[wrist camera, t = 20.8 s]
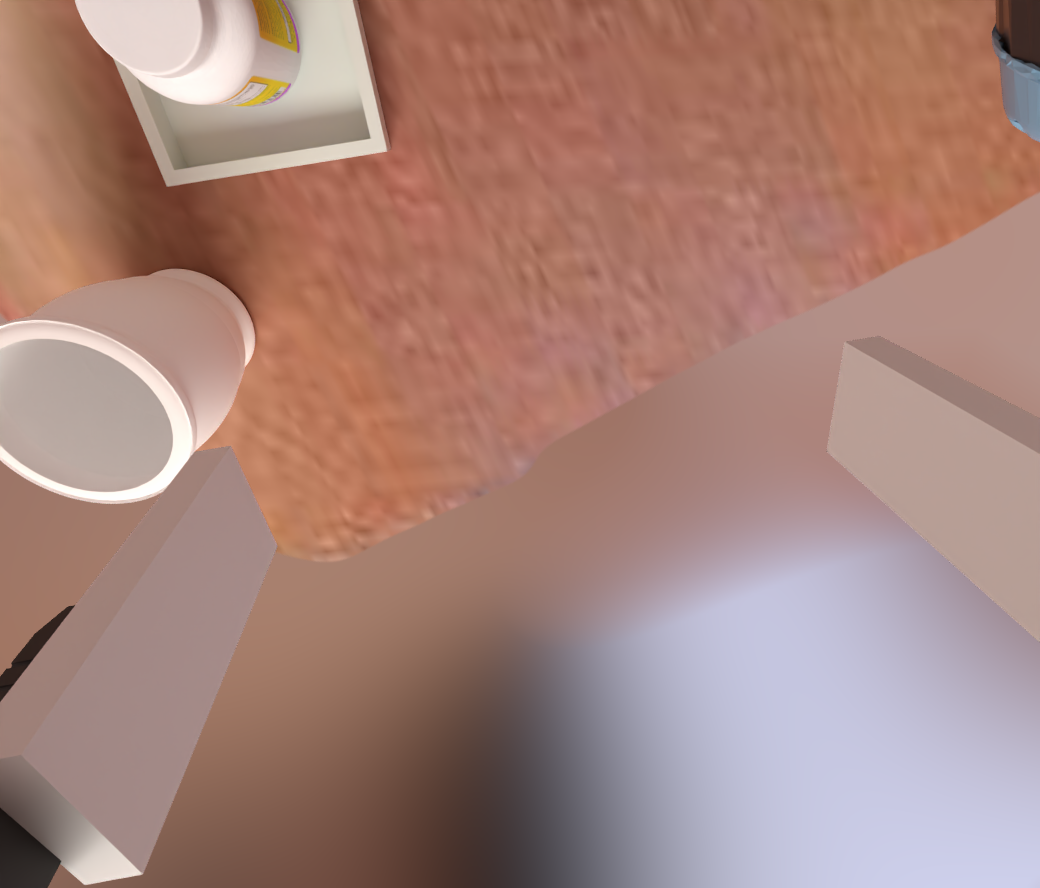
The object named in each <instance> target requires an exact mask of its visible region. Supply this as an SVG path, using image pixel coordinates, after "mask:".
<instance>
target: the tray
mask: <svg viewBox="0 0 1040 888" xmlns="http://www.w3.org/2000/svg"><path fill="white" fill-rule="evenodd" d="M284 1H285V2H286V4H287V6H288V7H289V9H290V11H291V13H292V15H293V17H294V19H295V21H296V24H297V27H298V31H299V35H300V39H301V50H302V57H301V66H300V70H299V73H298V76H297V79H296V81H295V83H294V84H293V86H292V87H291V89H290V90H289V91H288V92H287V93H286V94H285V95H284V96H283V97H282V98H280V99H279V100H277V101H275V102H273V103H270V104H267V105H262V106H254V107H247V106H222V105H195V104H187V103H182V102H179V101H176V100H173V99H170V98H168V97H165V96H163V95H161V94H159V93H158V92H156V91H154V90H152V89H151V88H149V87H148V86H146V85H145V84H144V83H142V82H141V81H140V80H139V79H138V78H136V77H135V76H134V75H133V74H132V73H131V72H130V71H129V70H128V69H127V68H126V67H125V66H124V65H123V64H121V63H120V62H118V61H117V60H115V59H114V58H113V59H114V61H115V64H116V66H117V68H118V71H119V73H120V76H121V78H122V80H123V83H124V85H125V88H126V90H127V92H128V95H129V97H130V100H131V102H132V104H133V107H134V109H135V111H136V114H137V116H138V119H139V121H140V123H141V126H142V128H143V131H144V133H145V135H146V138H147V140H148V143H149V145H150V147H151V150H152V152H153V154H154V157H155V159H156V162H157V164H158V166H159V169H160V171H161V174H162V176H163V178H164V181H165V183H166V186H167V187H169V186H175V185H181V184H187V183H193V182H200V181H206V180H212V179H218V178H225V177H231V176H237V175H243V174H249V173H256V172H262V171H268V170H274V169H281V168H287V167H293V166H299V165H306V164H312V163H318V162H324V161H330V160H337V159H343V158H349V157H355V156H362V155H368V154H374V153H380V152H386V151H389V150H391V147H390V142H389V138H388V133H387V129H386V124H385V120H384V116H383V111H382V107H381V102H380V98H379V93H378V89H377V85H376V80H375V76H374V71H373V67H372V62H371V58H370V54H369V49H368V45H367V40H366V36H365V31H364V27H363V23H362V18H361V14H360V9H359V5H358V0H284Z"/></svg>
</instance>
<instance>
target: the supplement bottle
mask: <svg viewBox="0 0 1040 888" xmlns="http://www.w3.org/2000/svg"><path fill="white" fill-rule="evenodd" d="M75 3H76V6H77V9H78V11H79V14H80V16H81V18H82V20H83V22H84V24H85V26H86V27H87V29H88V31H89V32H90V34H91V35H92V36H93V38H94V39H95V40H96V41H97V43H98V44H99V45H100V46H101V47H102V48H103V49H104V50H105V51H106V52H107V53H108V54H109V55H110V56H112V57H113V58H114V59H115V60H117V61H118V62H120V63H121V64H123V65H124V66H125V67H126V68H127V69H128V70H129V71H130V72H131V73H132V74H133V75H134V76H135V77H136V78H138V79H139V80H140V81H141V82H142V83H144V84H145V85H146V86H148V87H149V88H151V89H152V90H154V91H156V92H158V93H159V94H161V95H163V96H165V97H168V98H170V99H173V100H176V101H179V102H182V103H187V104H195V105H222V106H247V107H254V106H262V105H267V104H270V103H273V102H275V101H277V100H279V99H280V98H282V97H283V96H284V95H285V94H286V93H287V92H288V91H289V90H290V89H291V87H292V86H293V84H294V83H295V81H296V79H297V76H298V73H299V70H300V66H301V57H302V50H301V39H300V35H299V31H298V27H297V24H296V21H295V19H294V17H293V15H292V13H291V11H290V9H289V7H288V6H287V4H286V2H285V1H284V0H75Z"/></svg>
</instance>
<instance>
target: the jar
mask: <svg viewBox="0 0 1040 888" xmlns="http://www.w3.org/2000/svg"><path fill="white" fill-rule="evenodd" d="M254 347H255V331H254V327H253V323H252V320H251V318H250V316H249V313H248V312H247V310H246V308H245V307H244V305H243V304H242V302H241V301H240V300H239V299H238V298H237V297H236V295H235V294H234V293H233V292H231V291H230V290H229V289H228V288H227V287H225V286H224V285H223V284H221V283H220V282H218V281H217V280H215V279H213V278H211V277H209V276H207V275H204V274H202V273H199V272H195V271H191V270H186V269H166V270H161V271H157V272H154V273H152V274H150V275H148V276H137V277H130V278H125V279H118V280H110V281H104V282H99V283H95V284H91V285H88V286H84V287H81V288H78V289H76V290H73V291H70V292H68V293H66V294H64V295H62V296H60V297H58V298H56V299H54V300H52V301H51V302H49V303H47V304H46V305H44V306H43V307H41V308H40V309H38V310H37V311H36V312H34V313H33V314H32V315H30V316H29V317H23V318H19V319H15V320H11V321H8V322H5V323H3V324H1V325H0V460H1V461H2V462H3V463H4V464H5V465H7V466H8V467H9V468H11V469H12V470H13V471H15V472H16V473H18V474H19V475H21V476H23V477H24V478H26V479H27V480H29V481H31V482H33V483H35V484H37V485H39V486H41V487H43V488H45V489H47V490H50V491H52V492H55V493H57V494H60V495H63V496H66V497H70V498H73V499H78V500H82V501H88V502H94V503H105V504H106V503H107V504H121V503H130V502H136V501H140V500H144V499H147V498H150V497H153V496H156V495H158V494H160V493H162V492H163V491H164V490H165V489H166V488H167V486H168V485H169V484H170V483H171V481H172V480H173V479H174V477H175V476H176V475H177V474H178V472H179V471H180V470H181V468H182V467H183V466H184V465H185V463H186V462H187V461H188V459H189V458H190V457H191V455H192V454H193V453H194V451H195V450H197V449H198V448H199V447H200V446H201V445H202V444H203V443H205V442H206V441H207V440H208V439H209V438H210V437H211V435H212V434H213V433H214V432H215V431H216V430H217V428H218V427H219V426H220V425H221V423H222V422H223V420H224V419H225V417H226V415H227V414H228V412H229V410H230V408H231V406H232V404H233V401H234V399H235V396H236V393H237V390H238V387H239V384H240V382H241V379H242V376H243V373H244V368H245V366H246V365H247V364H248V362H249V361H250V359H251V357H252V355H253V352H254Z"/></svg>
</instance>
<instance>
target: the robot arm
mask: <svg viewBox="0 0 1040 888" xmlns="http://www.w3.org/2000/svg"><path fill="white" fill-rule="evenodd" d="M992 45H993V48H994V51H995V54H996V55H997V56H998V57H999V61H1000V73H1001V86H1002V98H1003V106H1004V110H1005V113H1006V115H1007V117H1008V119H1009V120H1010V122H1011V123H1012V125H1014V126H1015V127H1016V128H1018V129H1019V130H1021V131H1022V132H1024V133H1027V134H1028V136H1029V137H1030V138H1032V139H1034V140H1036V141H1038V142H1040V0H996V24H995V27H994V29H993V31H992ZM827 452H828V453H829V454H830V455H831V456H832V457H834V458H835V459H836V460H837V461H838V462H839V463H840V464H841V465H842V466H844V467H845V468H846V469H847V470H848V471H849V472H850V473H852V475H854V476H855V477H856V478H857V479H858V480H859V481H860V482H861V483H863V484H864V485H865V486H866V487H867V488H868V489H869V490H870V491H871V492H873V493H874V494H875V495H876V496H877V497H878V498H879V499H881V501H883V502H884V503H885V504H886V505H887V506H888V507H889V508H890V509H892V510H893V511H894V512H895V513H896V514H897V515H898V516H899V517H900V518H902V519H903V520H904V521H905V522H906V523H907V524H908V525H909V526H911V527H912V528H913V529H914V530H915V531H916V532H917V533H918V534H919V535H921V536H922V537H923V538H924V539H925V540H927V542H928V543H929V544H931V545H932V546H933V547H934V548H935V549H936V550H937V551H938V552H939V553H941V554H942V555H943V556H944V557H945V558H946V559H947V560H948V561H950V562H951V563H952V564H953V565H954V566H955V567H956V568H957V569H959V570H960V571H961V572H962V573H963V574H964V575H965V576H966V577H968V578H969V579H970V580H971V581H972V582H973V583H974V584H975V585H976V586H977V587H979V588H980V589H981V590H982V591H983V592H984V593H985V594H986V595H987V596H989V597H990V598H991V599H992V600H993V601H994V602H995V603H996V604H998V605H999V606H1000V607H1001V608H1002V609H1003V610H1004V611H1005V612H1006V613H1008V614H1009V615H1010V616H1011V617H1012V618H1013V619H1014V620H1015V621H1017V622H1018V623H1019V624H1020V625H1021V626H1022V627H1023V628H1024V629H1025V630H1027V631H1028V632H1029V633H1030V634H1031V635H1032V636H1033V637H1034V638H1035V639H1037V640H1038V641H1039V642H1040V418H1038V417H1036V416H1034V415H1032V414H1031V413H1029V412H1027V411H1025V410H1023V409H1021V408H1019V407H1017V406H1015V405H1013V404H1011V403H1009V402H1007V401H1005V400H1003V399H1001V398H999V397H998V396H995V395H994V394H991V393H989V392H988V391H986V390H984V389H982V388H980V387H978V386H976V385H974V384H972V383H970V382H968V381H966V380H964V379H962V378H960V377H959V376H957V375H955V374H953V373H951V372H949V371H947V370H945V369H943V368H941V367H939V366H937V365H935V364H933V363H931V362H929V361H927V360H926V359H923V358H922V357H920V356H918V355H916V354H914V353H912V352H910V351H908V350H906V349H904V348H902V347H900V346H898V345H896V344H894V343H892V342H890V341H889V340H887V339H885V338H883V337H881V336H877V337H871V338H865V339H859V340H853V341H847V342H845V343H844V349H843V355H842V361H841V367H840V373H839V379H838V385H837V392H836V397H835V404H834V409H833V416H832V422H831V428H830V434H829V440H828V446H827ZM276 549H277V544H276V542H275V540H274V537H273V535H272V533H271V531H270V529H269V527H268V525H267V522H266V520H265V518H264V516H263V514H262V512H261V510H260V507H259V505H258V503H257V501H256V499H255V497H254V495H253V492H252V490H251V488H250V486H249V484H248V482H247V479H246V477H245V475H244V473H243V471H242V469H241V467H240V464H239V462H238V460H237V458H236V456H235V454H234V452H233V449H232V447H231V446H227V447H221V448H215V449H209V450H203V451H197V452H194V453H193V454H192V455H191V457H190V458H189V459H188V461H187V462H186V463H185V465H184V466H183V467H182V468H181V470H180V471H179V472H178V474H177V475H176V476H175V477H174V479H173V480H172V481H171V483H170V484H169V485H168V486H167V488H166V489H165V490H164V492H163V493H162V494H161V495H160V497H159V498H158V500H157V501H156V502H155V503H154V505H153V506H152V507H151V508H150V510H149V511H148V512H147V514H146V515H145V516H144V517H143V519H142V520H141V521H140V523H139V524H138V525H137V526H136V528H135V529H134V530H133V532H132V533H131V534H130V535H129V537H128V538H127V540H126V541H125V542H124V543H123V545H122V546H121V547H120V548H119V550H118V551H117V552H116V554H115V555H114V556H113V558H112V559H111V560H110V561H109V563H108V564H107V565H106V566H105V568H104V569H103V570H102V572H101V573H100V574H99V575H98V577H97V578H96V579H95V581H94V582H93V583H92V584H91V586H90V587H89V588H88V590H87V591H86V592H85V594H84V595H83V596H82V597H81V599H80V600H79V601H78V603H77V604H76V605H74V606H69V607H67V608H66V609H65V610H63V611H62V612H61V613H59V614H58V615H57V616H56V617H55V618H53V619H52V620H51V621H50V622H49V623H47V624H46V625H45V626H44V627H43V628H41V629H40V630H39V631H38V632H37V633H35V634H34V636H33V637H32V638H31V639H30V641H29V642H28V643H27V644H26V646H25V647H24V648H23V649H22V651H21V652H20V653H19V654H18V655H17V657H16V658H15V659H14V660H13V662H12V667H11V668H9V669H6V670H5V671H4V673H3V674H2V675H1V676H0V888H47V887H48V886H49V884H50V882H51V880H52V878H53V876H54V874H55V872H56V870H57V869H58V867H59V865H60V864H61V865H63V866H64V867H65V868H66V869H67V870H68V871H69V872H71V873H72V874H73V875H74V876H75V877H76V878H77V879H79V880H80V881H81V882H82V883H83V884H84V885H87V884H92V883H98V882H103V881H109V880H114V879H120V878H125V877H130V876H136V875H141V874H143V873H144V870H145V868H146V865H147V863H148V860H149V858H150V855H151V853H152V851H153V848H154V846H155V843H156V841H157V838H158V836H159V834H160V831H161V829H162V826H163V824H164V821H165V819H166V817H167V814H168V811H169V809H170V806H171V804H172V802H173V799H174V797H175V795H176V792H177V790H178V787H179V785H180V782H181V780H182V778H183V775H184V773H185V770H186V768H187V765H188V763H189V760H190V758H191V756H192V753H193V750H194V748H195V746H196V743H197V741H198V739H199V736H200V734H201V731H202V729H203V726H204V724H205V721H206V719H207V717H208V714H209V712H210V709H211V707H212V704H213V702H214V700H215V697H216V695H217V692H218V690H219V687H220V685H221V683H222V680H223V678H224V675H225V673H226V670H227V668H228V665H229V663H230V661H231V658H232V656H233V653H234V651H235V649H236V646H237V644H238V641H239V639H240V636H241V633H242V632H243V629H244V627H245V624H246V622H247V619H248V616H249V614H250V612H251V610H252V607H253V605H254V602H255V600H256V597H257V595H258V592H259V590H260V588H261V585H262V583H263V580H264V578H265V575H266V573H267V571H268V568H269V566H270V563H271V561H272V558H273V556H274V554H275V551H276Z"/></svg>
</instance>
